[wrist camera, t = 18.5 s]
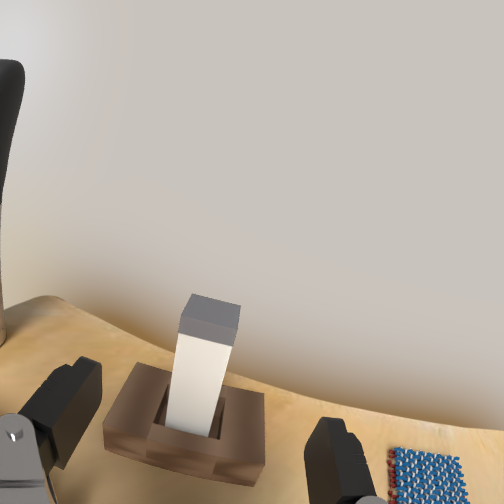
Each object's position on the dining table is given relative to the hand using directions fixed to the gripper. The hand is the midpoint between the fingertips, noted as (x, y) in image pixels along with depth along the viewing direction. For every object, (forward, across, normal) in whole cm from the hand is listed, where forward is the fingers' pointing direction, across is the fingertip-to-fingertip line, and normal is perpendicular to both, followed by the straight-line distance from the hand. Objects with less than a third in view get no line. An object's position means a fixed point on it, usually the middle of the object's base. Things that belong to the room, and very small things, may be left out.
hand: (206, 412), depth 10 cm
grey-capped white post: (+14, +1, +17) cm, 22 cm away
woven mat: (+9, -26, +18) cm, 33 cm away
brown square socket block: (+14, +1, +18) cm, 23 cm away
